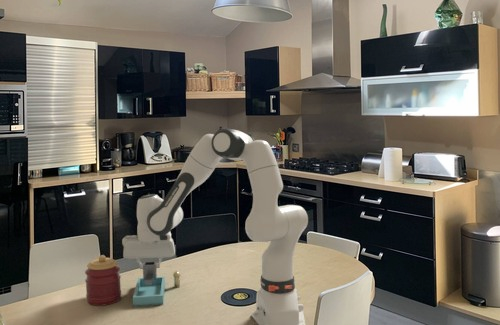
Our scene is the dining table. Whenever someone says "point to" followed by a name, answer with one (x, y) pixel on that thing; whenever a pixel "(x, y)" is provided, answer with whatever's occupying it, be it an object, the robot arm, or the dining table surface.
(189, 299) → the dining table surface
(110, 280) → the canister
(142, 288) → the tray
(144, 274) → the link
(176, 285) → the ball stud
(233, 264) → the dining table surface
